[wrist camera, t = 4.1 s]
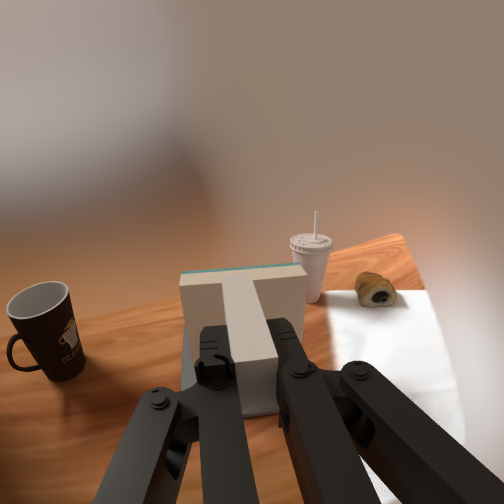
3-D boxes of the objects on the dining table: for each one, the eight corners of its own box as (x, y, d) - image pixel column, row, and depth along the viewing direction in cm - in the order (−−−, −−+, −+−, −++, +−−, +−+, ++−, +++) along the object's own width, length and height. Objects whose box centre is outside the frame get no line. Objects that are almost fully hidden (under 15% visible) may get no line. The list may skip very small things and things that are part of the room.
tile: (199, 397, 26) (179, 285, 22) (199, 380, 29) (181, 271, 24) (296, 385, 28) (307, 275, 23) (291, 370, 30) (298, 262, 25)
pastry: (347, 281, 51) (350, 262, 49) (381, 281, 50) (385, 262, 49) (360, 309, 42) (364, 288, 40) (398, 308, 41) (403, 287, 40)
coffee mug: (70, 337, 35) (48, 275, 31) (105, 360, 31) (81, 291, 28) (13, 378, 25) (-20, 314, 21) (41, 412, 21) (-1, 342, 18)
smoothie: (330, 307, 42) (340, 217, 37) (288, 308, 43) (292, 216, 38) (324, 287, 48) (330, 206, 43) (286, 287, 49) (288, 205, 44)
